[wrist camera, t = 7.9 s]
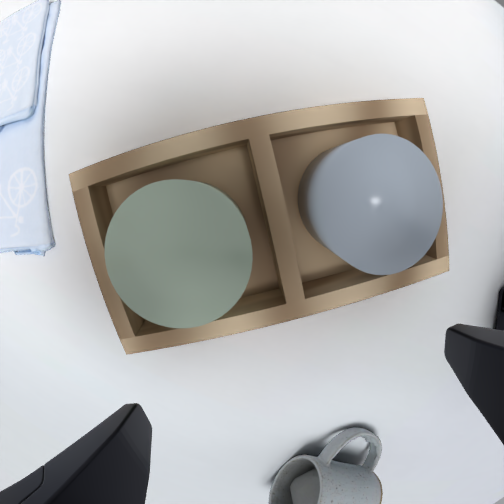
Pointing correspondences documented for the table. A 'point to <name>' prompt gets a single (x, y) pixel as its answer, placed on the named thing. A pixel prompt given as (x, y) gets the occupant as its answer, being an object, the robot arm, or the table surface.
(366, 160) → the pale blue rounded cylinder
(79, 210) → the divided wooden tray
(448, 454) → the table surface
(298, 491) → the ceramic mug
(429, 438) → the table surface
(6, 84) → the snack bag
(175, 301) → the sage green cylinder
